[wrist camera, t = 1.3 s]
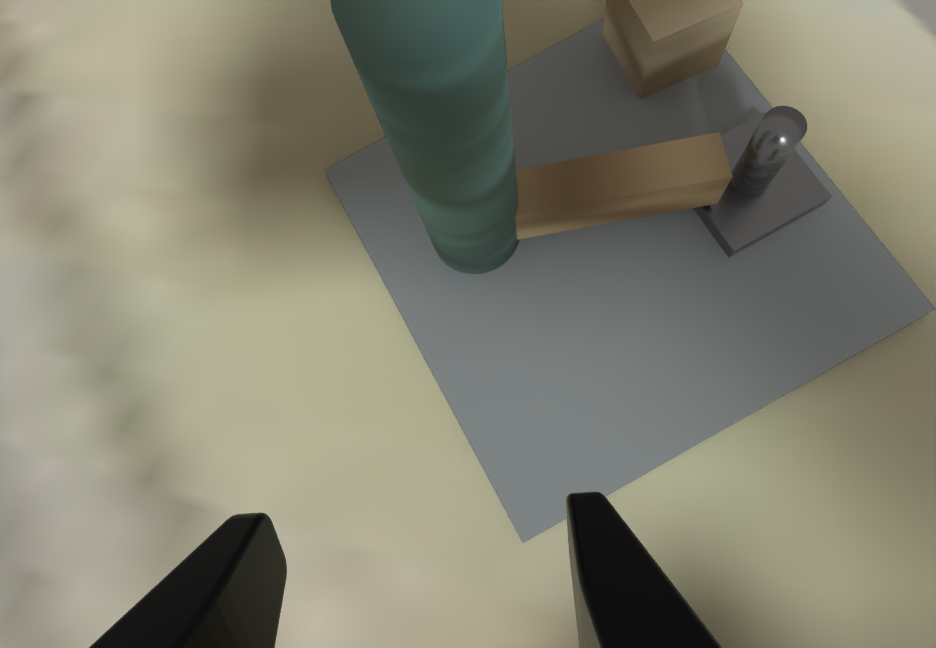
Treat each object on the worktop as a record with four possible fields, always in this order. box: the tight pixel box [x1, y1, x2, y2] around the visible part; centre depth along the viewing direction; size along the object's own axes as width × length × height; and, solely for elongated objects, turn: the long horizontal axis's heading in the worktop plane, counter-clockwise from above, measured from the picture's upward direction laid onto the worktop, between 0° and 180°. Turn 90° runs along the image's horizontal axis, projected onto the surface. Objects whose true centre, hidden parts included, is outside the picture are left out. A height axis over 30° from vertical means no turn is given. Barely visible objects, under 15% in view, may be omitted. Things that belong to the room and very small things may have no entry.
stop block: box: [603, 0, 743, 99], centre depth 22 cm, size 3×3×3 cm
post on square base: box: [693, 106, 832, 258], centre depth 20 cm, size 4×4×4 cm
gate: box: [331, 0, 732, 274], centre depth 17 cm, size 9×3×11 cm, turn 99°
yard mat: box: [324, 18, 935, 543], centre depth 22 cm, size 14×14×1 cm
